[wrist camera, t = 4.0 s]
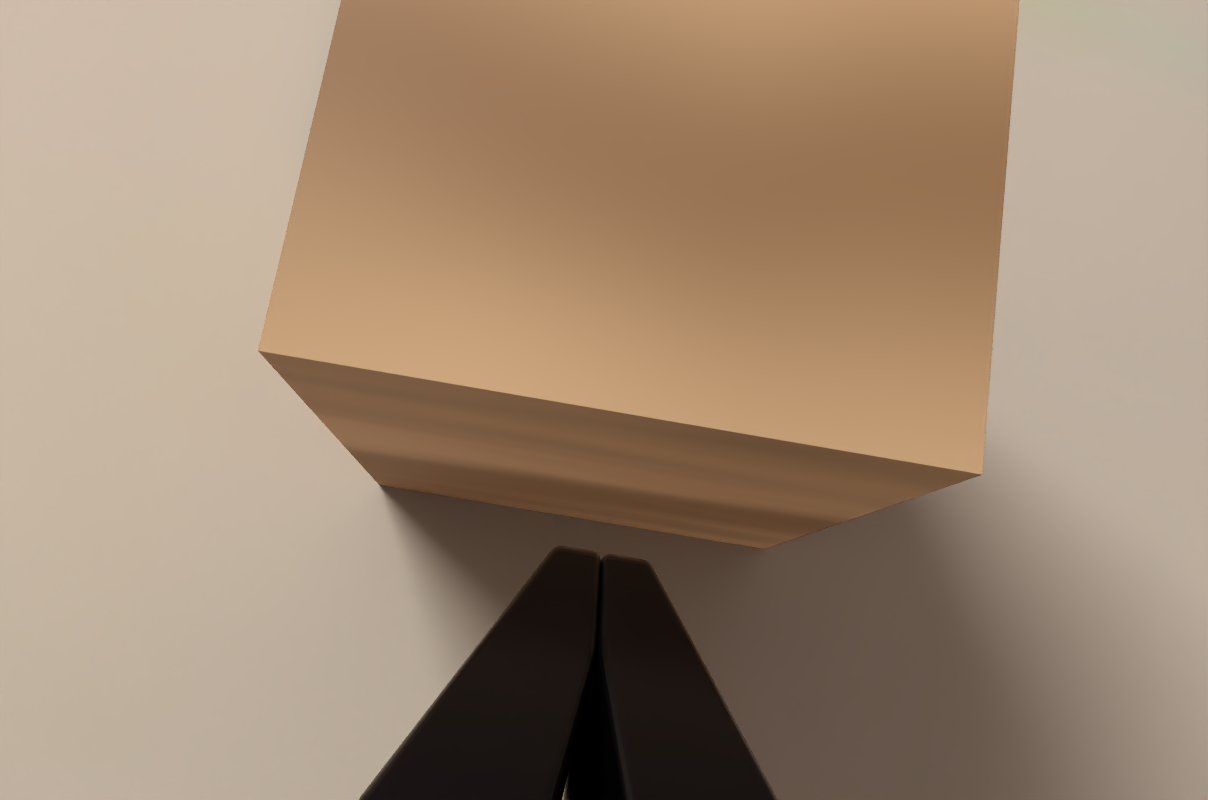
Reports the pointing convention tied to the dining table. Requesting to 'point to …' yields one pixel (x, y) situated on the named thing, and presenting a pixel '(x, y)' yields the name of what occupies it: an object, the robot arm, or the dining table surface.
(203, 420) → the dining table surface
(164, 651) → the dining table surface
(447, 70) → the wooden block
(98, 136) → the dining table surface
